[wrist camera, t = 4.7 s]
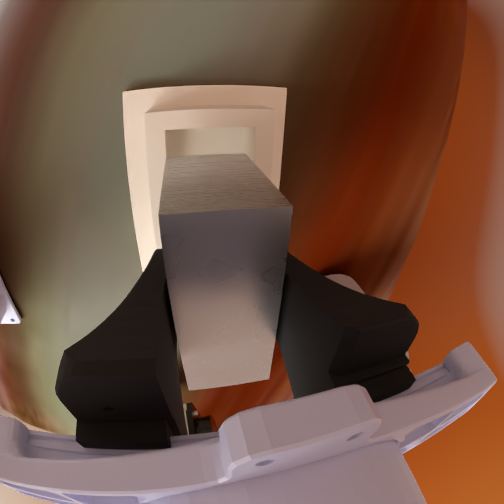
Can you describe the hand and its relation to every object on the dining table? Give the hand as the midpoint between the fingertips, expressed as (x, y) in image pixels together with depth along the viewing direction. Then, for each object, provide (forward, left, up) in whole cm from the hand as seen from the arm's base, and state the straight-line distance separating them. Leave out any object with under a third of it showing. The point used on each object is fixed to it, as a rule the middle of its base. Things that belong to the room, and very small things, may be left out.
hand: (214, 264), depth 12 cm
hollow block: (0, 0, -9) cm, 9 cm away
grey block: (0, 0, -3) cm, 3 cm away
